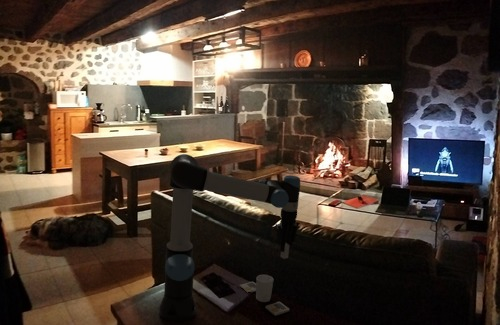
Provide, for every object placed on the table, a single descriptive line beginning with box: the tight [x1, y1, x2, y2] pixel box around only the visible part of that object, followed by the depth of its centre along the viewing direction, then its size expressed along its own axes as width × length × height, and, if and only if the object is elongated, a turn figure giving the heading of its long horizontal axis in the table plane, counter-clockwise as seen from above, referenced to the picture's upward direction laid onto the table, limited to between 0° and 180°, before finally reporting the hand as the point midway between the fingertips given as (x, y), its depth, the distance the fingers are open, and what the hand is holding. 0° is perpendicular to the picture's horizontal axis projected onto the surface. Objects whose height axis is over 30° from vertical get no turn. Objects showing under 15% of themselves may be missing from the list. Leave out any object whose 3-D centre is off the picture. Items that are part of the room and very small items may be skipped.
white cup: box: [255, 274, 274, 303], centre depth 185 cm, size 8×8×10 cm
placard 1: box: [238, 281, 256, 294], centre depth 194 cm, size 7×8×1 cm
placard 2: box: [265, 301, 291, 316], centre depth 178 cm, size 7×8×1 cm
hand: (284, 257), depth 189 cm, fingers closed
